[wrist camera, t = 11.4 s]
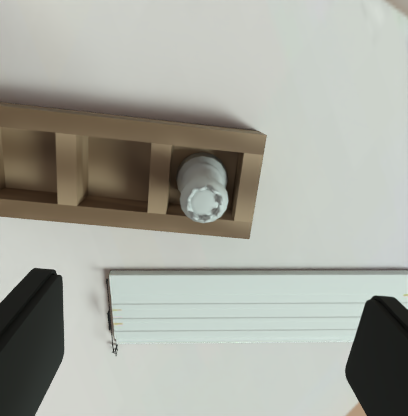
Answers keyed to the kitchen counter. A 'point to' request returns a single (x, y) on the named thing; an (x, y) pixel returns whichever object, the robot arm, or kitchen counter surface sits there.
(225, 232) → the rack
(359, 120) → the kitchen counter surface
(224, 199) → the rook chess piece
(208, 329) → the baseboard
